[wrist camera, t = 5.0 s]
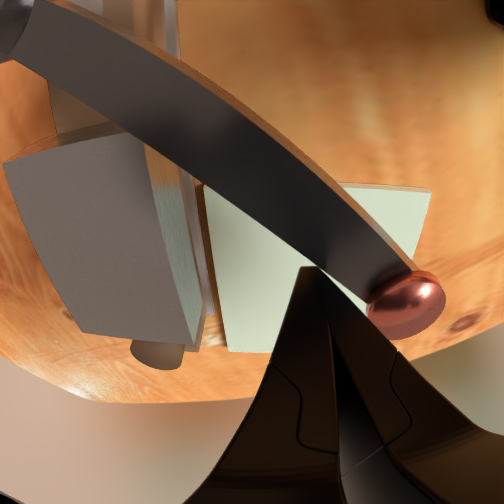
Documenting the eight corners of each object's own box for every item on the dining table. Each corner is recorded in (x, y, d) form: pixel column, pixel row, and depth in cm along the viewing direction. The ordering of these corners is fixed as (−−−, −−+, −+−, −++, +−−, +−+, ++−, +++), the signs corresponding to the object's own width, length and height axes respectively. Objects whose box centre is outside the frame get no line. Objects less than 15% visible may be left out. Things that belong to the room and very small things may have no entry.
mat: (427, 188, 14) (431, 193, 13) (373, 342, 22) (374, 348, 22) (205, 182, 15) (203, 187, 14) (229, 345, 23) (228, 351, 23)
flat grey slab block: (169, 111, 9) (141, 130, 7) (203, 303, 14) (193, 345, 12) (40, 139, 9) (2, 163, 7) (99, 297, 15) (82, 332, 13)
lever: (-17, 45, 4) (-52, 55, 3) (22, -36, 2) (-13, -39, 1) (383, 319, 10) (393, 354, 8) (445, 275, 8) (463, 307, 7)
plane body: (85, -7, 8) (-14, -13, 3) (175, -35, 8) (104, -85, 2) (151, 306, 21) (124, 386, 15) (214, 309, 20) (200, 396, 15)
